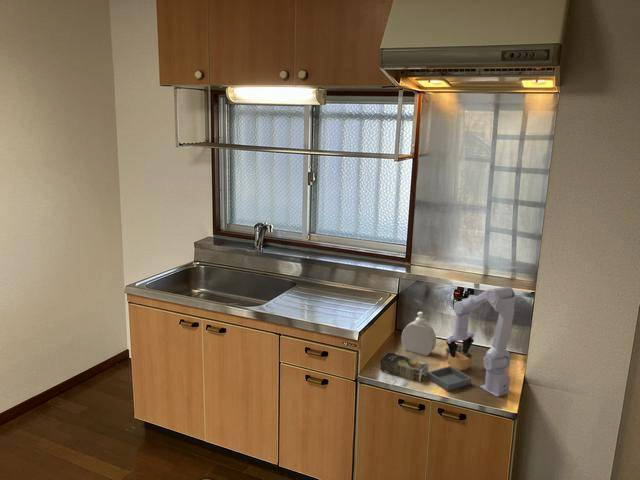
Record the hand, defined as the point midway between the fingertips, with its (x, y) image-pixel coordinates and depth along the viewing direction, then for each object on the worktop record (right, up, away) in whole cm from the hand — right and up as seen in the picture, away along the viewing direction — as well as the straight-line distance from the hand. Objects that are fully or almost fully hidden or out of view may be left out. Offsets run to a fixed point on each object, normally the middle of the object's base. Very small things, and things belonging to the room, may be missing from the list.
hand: (458, 354), depth 251 cm
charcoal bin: (-8, -9, -13) cm, 18 cm away
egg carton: (+2, -3, +13) cm, 14 cm away
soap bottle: (-16, -2, +16) cm, 23 cm away
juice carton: (-26, -7, -6) cm, 27 cm away
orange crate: (0, -5, +1) cm, 6 cm away
